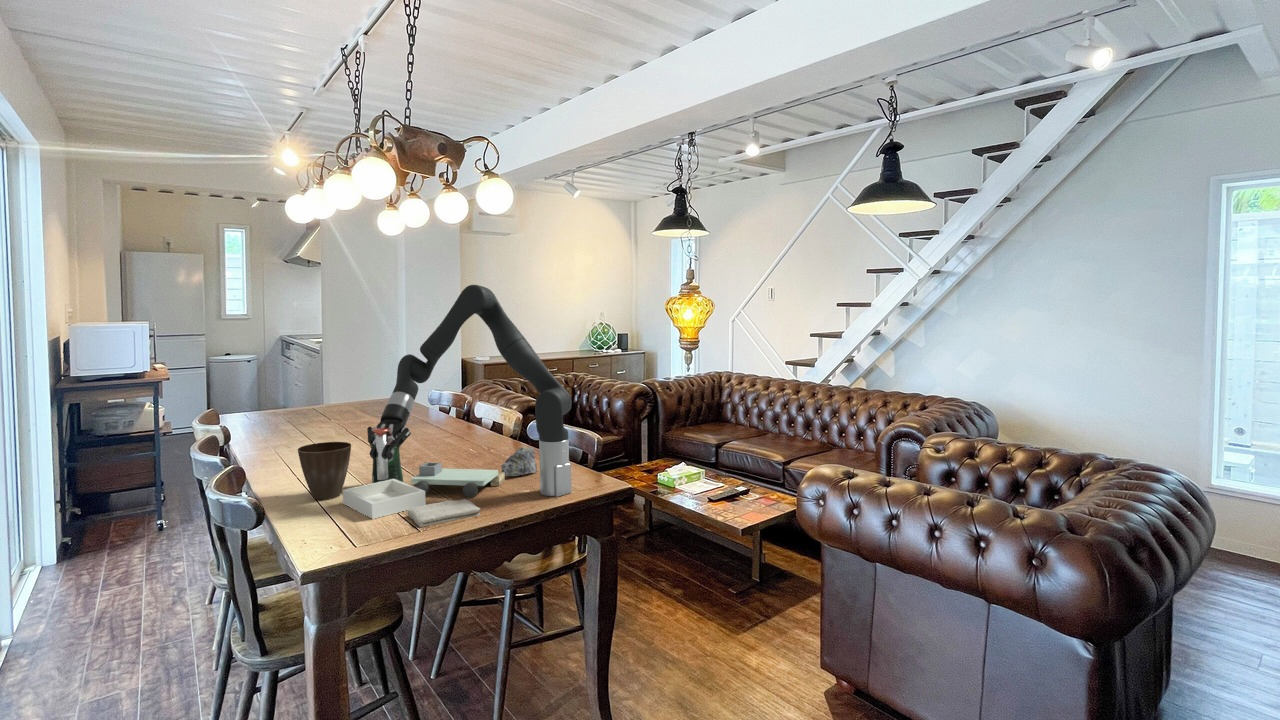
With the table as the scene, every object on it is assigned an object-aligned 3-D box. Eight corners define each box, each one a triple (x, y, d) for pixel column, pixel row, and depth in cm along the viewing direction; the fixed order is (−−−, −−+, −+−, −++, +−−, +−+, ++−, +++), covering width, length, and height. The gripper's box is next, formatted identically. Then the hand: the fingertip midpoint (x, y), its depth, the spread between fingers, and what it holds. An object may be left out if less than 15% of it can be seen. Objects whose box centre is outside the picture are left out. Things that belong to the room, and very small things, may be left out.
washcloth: (483, 516, 175) (482, 506, 174) (419, 530, 164) (418, 518, 164) (468, 505, 184) (468, 495, 184) (406, 518, 174) (406, 507, 174)
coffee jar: (403, 481, 209) (401, 427, 208) (403, 487, 202) (400, 432, 200) (372, 484, 206) (370, 429, 205) (371, 490, 199) (368, 434, 197)
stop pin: (393, 478, 184) (391, 429, 182) (378, 481, 180) (376, 431, 179) (386, 475, 186) (384, 427, 185) (372, 478, 183) (370, 429, 182)
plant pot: (335, 487, 203) (333, 439, 202) (363, 493, 195) (361, 444, 194) (290, 499, 190) (287, 448, 189) (318, 506, 183) (315, 454, 181)
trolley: (500, 483, 206) (499, 460, 205) (481, 498, 190) (481, 472, 189) (432, 481, 209) (431, 458, 208) (409, 495, 193) (408, 470, 192)
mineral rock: (501, 480, 210) (501, 451, 209) (499, 472, 220) (498, 445, 219) (539, 477, 214) (539, 448, 213) (535, 469, 224) (534, 442, 223)
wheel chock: (504, 481, 208) (504, 472, 207) (499, 486, 203) (499, 476, 202) (496, 481, 208) (495, 472, 208) (490, 485, 203) (490, 476, 203)
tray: (425, 505, 183) (425, 490, 183) (372, 519, 171) (371, 503, 171) (394, 492, 197) (393, 478, 196) (343, 504, 185) (342, 489, 184)
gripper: (371, 402, 190) (350, 450, 179) (414, 403, 188) (395, 451, 177) (381, 416, 195) (361, 463, 184) (423, 417, 194) (405, 464, 183)
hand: (378, 457), depth 181 cm, fingers closed on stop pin, 3 cm apart
